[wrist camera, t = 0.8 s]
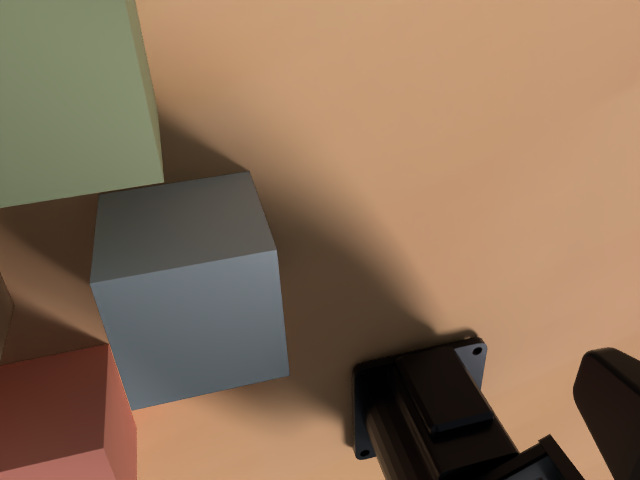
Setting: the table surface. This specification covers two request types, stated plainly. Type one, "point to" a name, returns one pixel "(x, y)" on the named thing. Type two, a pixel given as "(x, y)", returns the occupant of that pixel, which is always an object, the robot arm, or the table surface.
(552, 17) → the table surface
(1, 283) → the walnut cube
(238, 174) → the slate cube
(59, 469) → the red cube
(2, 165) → the olive cube
